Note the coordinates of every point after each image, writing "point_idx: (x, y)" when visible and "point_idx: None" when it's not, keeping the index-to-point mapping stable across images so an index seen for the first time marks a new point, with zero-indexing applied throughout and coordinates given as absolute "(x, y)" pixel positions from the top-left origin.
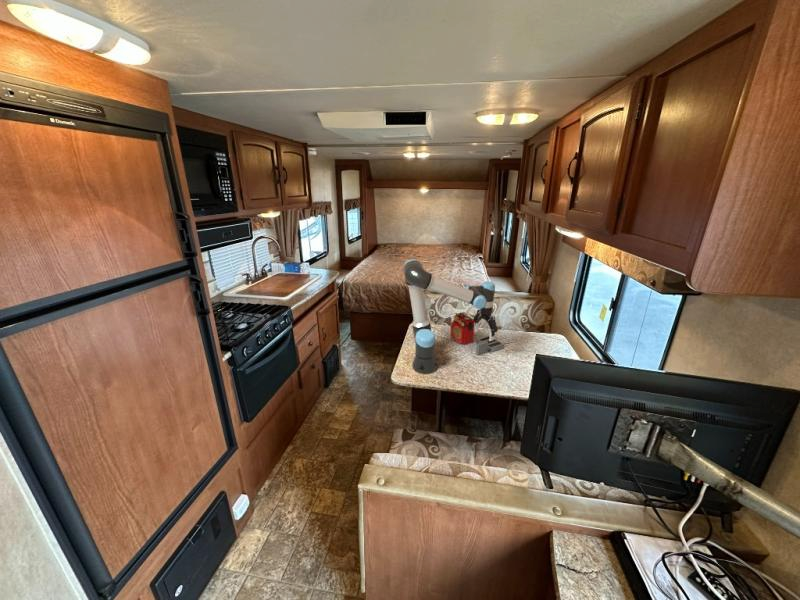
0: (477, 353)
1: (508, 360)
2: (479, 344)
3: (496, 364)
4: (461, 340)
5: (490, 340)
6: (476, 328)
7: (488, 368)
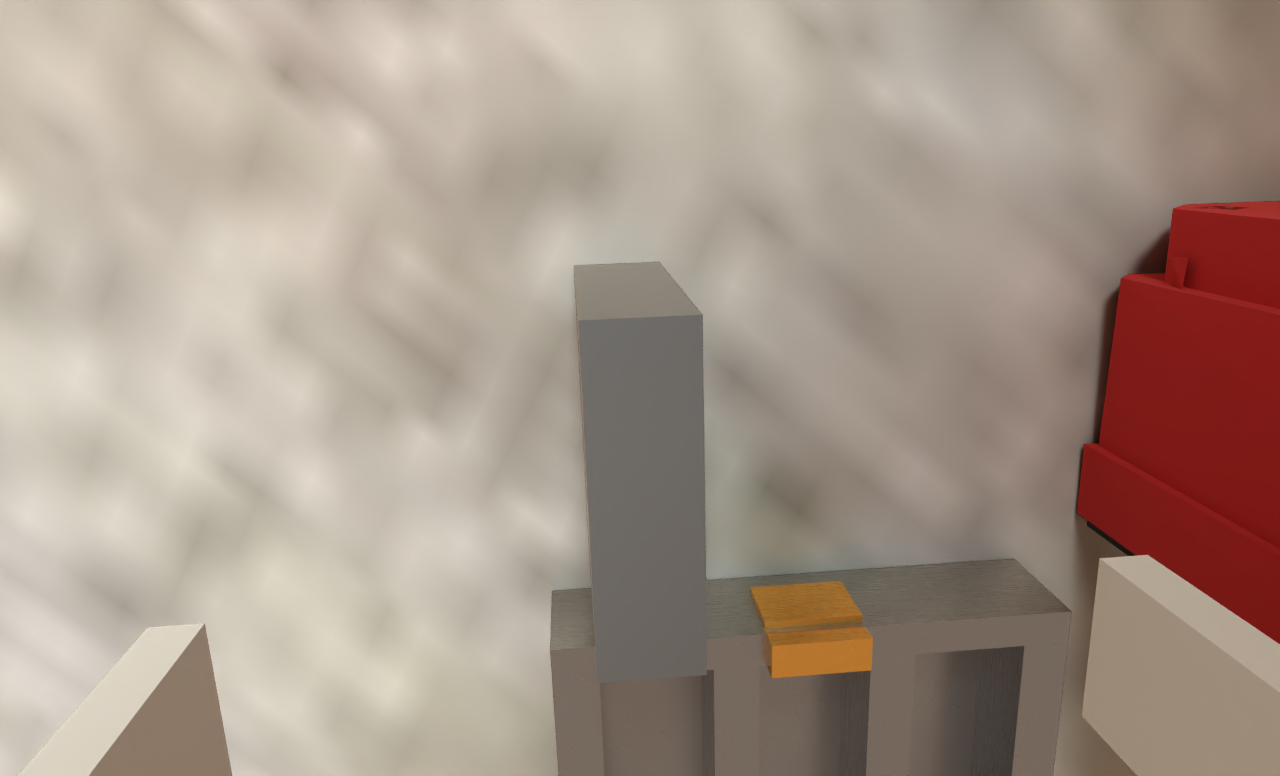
0: (602, 271)
1: None
2: (620, 366)
3: (106, 409)
4: (1231, 213)
5: (138, 662)
6: (1234, 697)
7: (12, 129)
